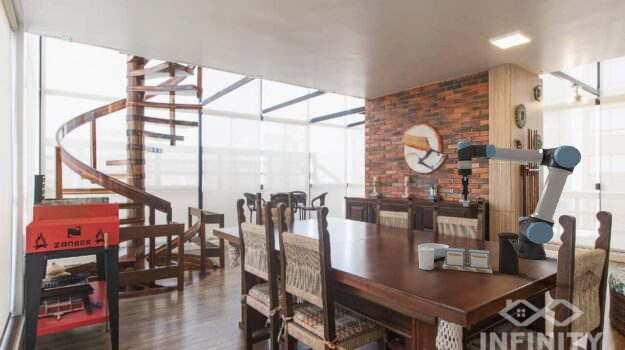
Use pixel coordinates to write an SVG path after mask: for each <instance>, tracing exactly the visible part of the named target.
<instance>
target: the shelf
mask: <svg viewBox="0 0 625 350" xmlns="http://www.w3.org/2000/svg"><path fill="white" fill-rule="evenodd" d="M442 269H444V270H453V271H464V272H475V273H485V274H493V269H492V265H491V264H490V269H481V268H470V267H469V262H465V267H459V266H449V265H445V260H444V261H443V264H442Z"/></svg>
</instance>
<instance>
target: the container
mask: <svg viewBox="0 0 625 350" xmlns="http://www.w3.org/2000/svg"><path fill="white" fill-rule="evenodd" d="M497 237H498V272H499V273H500V274H504V275H508V276H509V275H510V276H513V275H515V276H518V275H519V274H520V266H519V265H520V264H519V263H520V262H519V257H518V243H519V233H516V232H515V233H514V232H510V231H502V232H498V233H497Z"/></svg>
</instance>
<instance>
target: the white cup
mask: <svg viewBox="0 0 625 350" xmlns="http://www.w3.org/2000/svg"><path fill="white" fill-rule="evenodd" d="M417 255H418V256H417V257H418V267H419V269H421V270H426V271H432V270H434V260H435V259H434V249H433V248H428V247H420V248H418V247H417Z"/></svg>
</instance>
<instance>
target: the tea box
mask: <svg viewBox="0 0 625 350" xmlns="http://www.w3.org/2000/svg"><path fill="white" fill-rule="evenodd" d="M465 254H466V253H465V248H455V247H449V248H445V256H444V261H445V265H449V266H459V267H465V263H466V261H465V260H466V259H465Z"/></svg>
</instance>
